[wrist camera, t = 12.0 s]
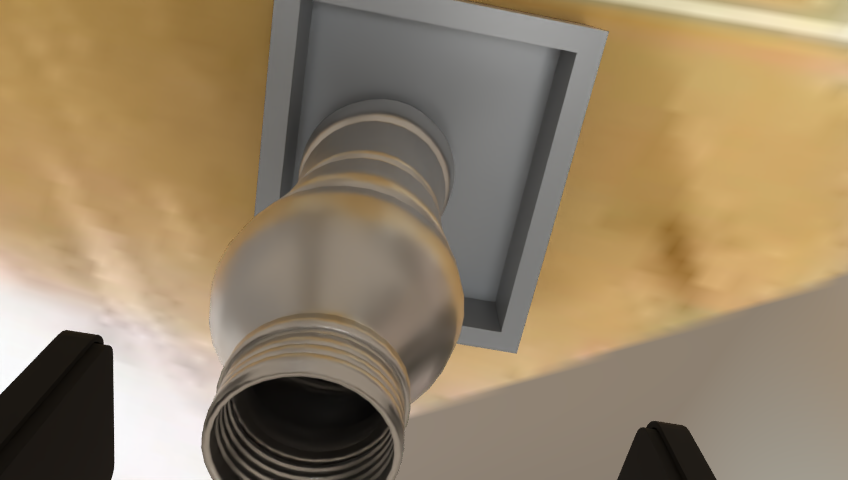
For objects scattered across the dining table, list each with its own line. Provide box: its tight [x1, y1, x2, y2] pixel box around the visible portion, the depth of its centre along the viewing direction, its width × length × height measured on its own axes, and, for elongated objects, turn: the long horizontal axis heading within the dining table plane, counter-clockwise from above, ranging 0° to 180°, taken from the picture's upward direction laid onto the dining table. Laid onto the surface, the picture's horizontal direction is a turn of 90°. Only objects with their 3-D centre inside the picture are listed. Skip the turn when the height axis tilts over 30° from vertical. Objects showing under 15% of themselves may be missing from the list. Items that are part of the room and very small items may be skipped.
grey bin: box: [254, 0, 609, 354], centre depth 29 cm, size 15×13×4 cm
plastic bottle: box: [201, 99, 464, 480], centre depth 21 cm, size 6×7×20 cm
